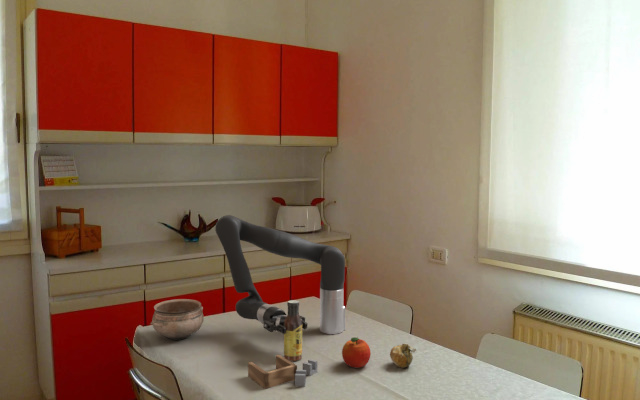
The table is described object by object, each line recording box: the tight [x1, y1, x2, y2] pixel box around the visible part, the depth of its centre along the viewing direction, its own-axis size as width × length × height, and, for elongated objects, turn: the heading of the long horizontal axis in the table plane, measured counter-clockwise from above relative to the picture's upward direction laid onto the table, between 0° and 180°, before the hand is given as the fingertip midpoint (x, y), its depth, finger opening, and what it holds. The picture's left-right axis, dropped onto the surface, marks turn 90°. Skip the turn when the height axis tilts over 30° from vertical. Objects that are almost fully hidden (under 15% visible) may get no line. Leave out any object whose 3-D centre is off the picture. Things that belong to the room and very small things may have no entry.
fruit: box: [341, 336, 372, 369], centre depth 178 cm, size 10×10×10 cm
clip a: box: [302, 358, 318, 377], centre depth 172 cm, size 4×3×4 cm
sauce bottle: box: [283, 299, 303, 362], centre depth 183 cm, size 6×6×20 cm
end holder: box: [247, 354, 298, 390], centre depth 168 cm, size 11×11×4 cm
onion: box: [389, 343, 417, 369], centre depth 178 cm, size 8×8×8 cm
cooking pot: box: [150, 298, 205, 341], centre depth 204 cm, size 25×19×12 cm
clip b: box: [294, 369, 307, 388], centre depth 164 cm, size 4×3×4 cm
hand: (295, 328), depth 182 cm, fingers open, 8 cm apart
